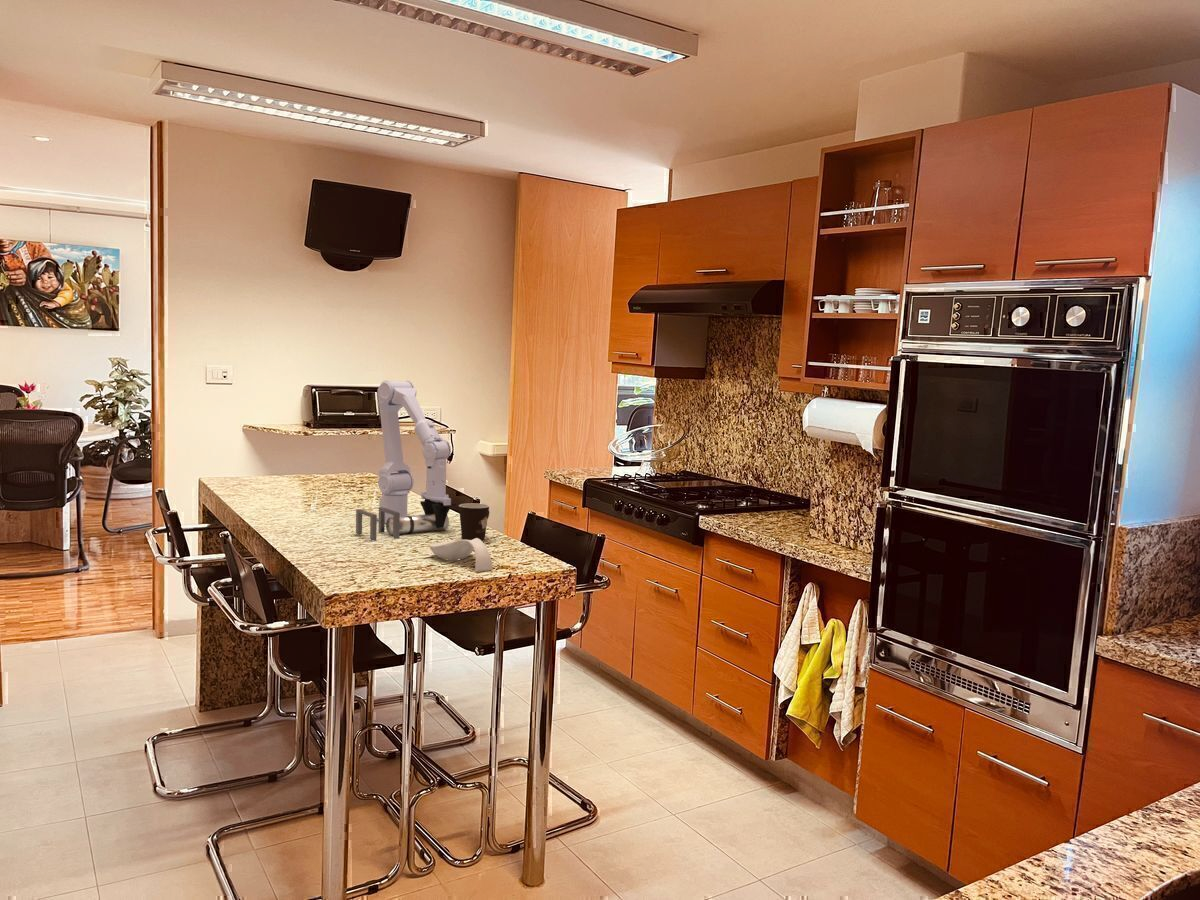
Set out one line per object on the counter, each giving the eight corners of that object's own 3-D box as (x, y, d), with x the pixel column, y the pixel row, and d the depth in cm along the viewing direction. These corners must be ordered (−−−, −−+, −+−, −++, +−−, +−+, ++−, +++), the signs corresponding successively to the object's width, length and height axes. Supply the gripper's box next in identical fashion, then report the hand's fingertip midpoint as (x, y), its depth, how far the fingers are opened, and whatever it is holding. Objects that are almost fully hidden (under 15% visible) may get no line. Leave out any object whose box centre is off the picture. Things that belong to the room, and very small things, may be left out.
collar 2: (378, 532, 264) (378, 507, 263) (382, 531, 264) (382, 507, 264) (395, 538, 255) (395, 513, 255) (399, 538, 256) (399, 512, 255)
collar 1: (355, 534, 259) (356, 509, 259) (359, 533, 260) (360, 508, 259) (372, 540, 251) (372, 515, 250) (376, 540, 252) (376, 514, 251)
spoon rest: (421, 556, 235) (422, 529, 234) (461, 551, 242) (462, 525, 241) (464, 575, 216) (465, 545, 216) (506, 569, 223) (507, 541, 223)
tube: (393, 536, 258) (394, 519, 258) (385, 533, 262) (386, 516, 261) (448, 531, 270) (449, 514, 269) (440, 527, 273) (440, 511, 273)
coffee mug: (468, 544, 251) (469, 509, 250) (452, 539, 258) (453, 504, 257) (503, 540, 258) (504, 506, 257) (486, 535, 265) (487, 501, 264)
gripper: (460, 483, 265) (459, 528, 266) (436, 477, 276) (435, 520, 277) (439, 484, 260) (438, 530, 262) (415, 478, 272) (414, 522, 273)
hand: (435, 525), depth 269 cm, fingers closed on tube, 5 cm apart
